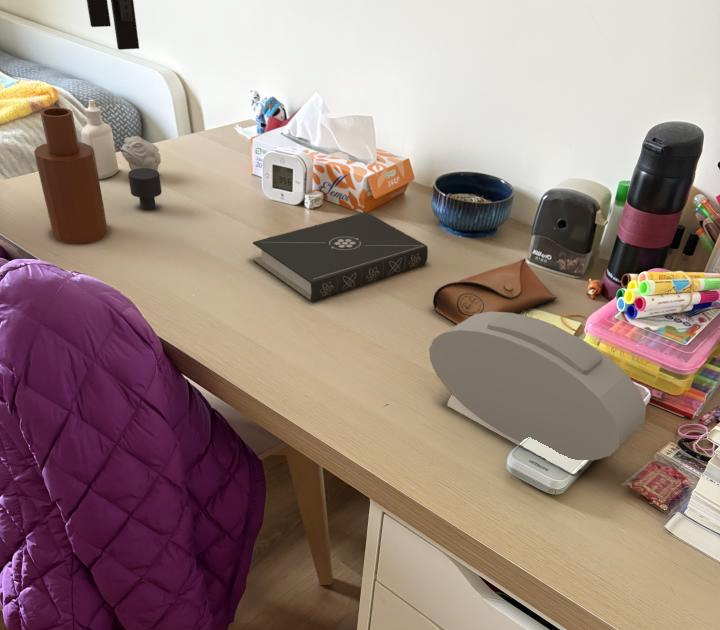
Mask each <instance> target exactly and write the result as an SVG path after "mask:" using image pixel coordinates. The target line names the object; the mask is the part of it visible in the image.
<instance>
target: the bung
mask: <svg viewBox="0 0 720 630" xmlns="http://www.w3.org/2000/svg"><path fill="white" fill-rule="evenodd" d="M127 176H128V183H129V189H130V194H131V195H132V196H133V197H136V198H138V199H139V205H140V209H141V210H142V211H146V212H147V211H153V210H155V209H156V208H157V205H156V197H159V196H160V195H162V193H163V192H162V183H161V175H160V172H159V170H154V169H150V168H138V169H134V170H131V169H130V171H128V173H127Z"/></svg>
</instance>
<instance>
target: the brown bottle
mask: <svg viewBox="0 0 720 630" xmlns="http://www.w3.org/2000/svg"><path fill="white" fill-rule="evenodd" d="M39 114H40V118H41V122H42V127H43V132H44V136H45V141H46V143H43V144H41V145H39V146H36V148H35V149H34V151H33V152H34V153H33V154H34V158H35V162H36V166H37V171H38V175H39V179H40V180H39V181H40V184H41V189H42V193H43V198H44V203H45V207H46V210H47V211H46V212H47V215H48V220H49V223H50V227H51V231H52V234H53V237H54V238H55V239H56V240H57V241H59V242H61V243H66V244H71V245H84V244H91V243H95V242H98V241H100V240H102V239H103V238H105V237H106V236H107V235H108V222H107V217H106V212H105V205H104V200H103V195H102V189H101V183H100V179H99V177H98V171H97V165H96V159H95V154H94V149H93V148H92V147H91V146H90V145H87V144H85V143H82V141H81V142H80V141H79V140H78V139H79V138H78V134H77V128H76V124H75V117H74V112H73V111H72V109H69V108H67V107H66V108H65V107H48V108H45V109H42V110H41V111H40V113H39Z"/></svg>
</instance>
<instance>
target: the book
mask: <svg viewBox="0 0 720 630" xmlns="http://www.w3.org/2000/svg"><path fill="white" fill-rule="evenodd" d="M252 244H253V245H254V246H255V247H256V248H258V249H260V250H261V256H260V257H256V258H254V259H253V262H254V263H255V264H257V265H258V266H260V267H261V268H262V269H264V271H267V272H268V273H269V274H271V275H272V276H274V277H275V278H277V280H279V281H280V282H282V283H284V284H285V285H286V286H288V287H289V288H290V289H292V290H294V291H295V292H296V293H297V294H299V295H300V296H302V297H303V298H305V299H306V300H307V301H309V302H310V303H314V302H317V301H320V300H323V299H327V298H329V297H332V296H336V295H338V294H341V293H344V292H347V291H350V290H353V289H354V290H355V289H356V288H359V287H363V286H366V285H368V284H372V283H375V282H377V281H380V280H381V281H382V280H383V279H386V278H390V277H393V276H396V275H399V274H402V273H405V272H408V271H411V270H414V269H418V268H420V267H423V266H425V265H426V263H427V261H428V255H429V250H428V249H429V247H428V245H427V244H425V243H424V242H421V241H420V240H418V239H416V238H414V237H412V236H411V235H408V234H406V233H405V232H403V231H401V230H399V229H398V228H397V227H394V226H392V225H391V224H389V223H387V222H385V221H383V220H382V219H380V218H379V217H376V216H374V215H373V214H371V213H369V212H368V211H365V212H361V213H357V214H352V215H350V216H349V215H348V216H346V217H342V218H338V219H334V220H331V221H326V222H322V223H318V224H315V225H311V226H308V227H304V228H300V229H296V230H292V231H288V232H285V233H281V234H277V235H273V236H269V237H265V238H261V239H257V240H255V241H252Z"/></svg>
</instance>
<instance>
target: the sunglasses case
mask: <svg viewBox="0 0 720 630" xmlns="http://www.w3.org/2000/svg"><path fill="white" fill-rule="evenodd" d="M526 260H527V259H526V258H522V259H520V260H519V261H516V262H512V263H509V264H506V265H503V266H499V267H495V268H492V269H489V270H486V271H482V272H480V273H478V274H474V275H472V276H469V277H466V278H463V279H461V280H458V281H454V282H449V283H446V284H444V285H442V286H440V287H438V289H437V290H436V291H435V292H434V295H433V297H432V298H433V299H432V305H433V308H434V311H435V312H436V313H438V314H439V315H441V316H442V317H444V318H445V319H446V320H448V321H449V322H451V323H453V324H454V325H455V326H456V325H458V324H459V323H461V322H463V321H464V320H466V319H468V318H470V317H471V316H473V315H475V314H479V313H485V312H507V313H514V314H520V313H522V312H525V311H527V310H530V309H533V308H536V307H539V306H542V305H544V304H547V303H550V302H551V301H554V300H556V299H558V296H556V295H554V294H553V293H551V291H550V290H549V289H548V287H546V284H544V282H543V281H542V280H541V279H540V278H539V276H538V275H537V274H536V272H535V271H533V269H532V268H531V267H530V265H529V264H528V263H527V262H526Z"/></svg>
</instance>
